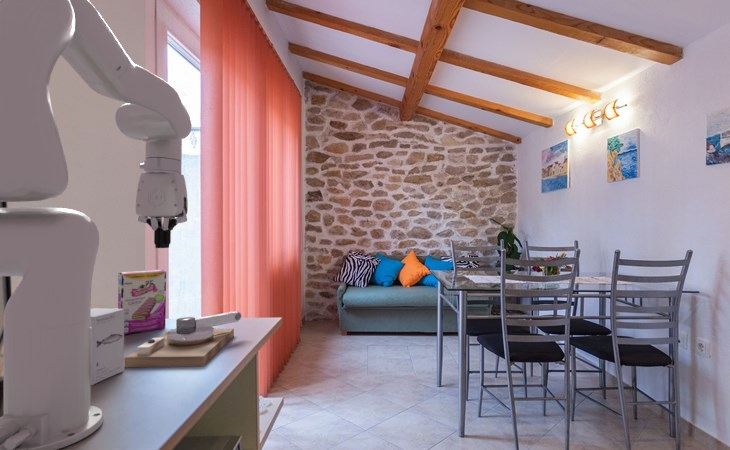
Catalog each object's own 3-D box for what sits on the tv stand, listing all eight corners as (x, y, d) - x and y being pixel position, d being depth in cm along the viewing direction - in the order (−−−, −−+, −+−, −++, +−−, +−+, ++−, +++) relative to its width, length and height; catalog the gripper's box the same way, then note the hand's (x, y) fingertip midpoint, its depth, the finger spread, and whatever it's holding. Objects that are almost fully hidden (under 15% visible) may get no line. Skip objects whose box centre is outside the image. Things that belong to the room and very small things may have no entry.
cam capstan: (178, 348, 86) (178, 325, 86) (160, 339, 93) (160, 318, 93) (251, 332, 100) (251, 312, 100) (230, 325, 106) (230, 306, 106)
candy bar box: (121, 336, 104) (121, 273, 104) (117, 332, 108) (117, 272, 108) (166, 328, 112) (166, 270, 112) (161, 325, 115) (161, 269, 115)
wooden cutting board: (203, 365, 82) (203, 345, 82) (124, 367, 81) (124, 346, 81) (233, 336, 104) (233, 319, 104) (171, 336, 103) (171, 320, 103)
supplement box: (93, 386, 72) (93, 316, 72) (59, 383, 73) (59, 314, 73) (125, 371, 79) (125, 308, 79) (94, 368, 80) (94, 306, 80)
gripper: (121, 165, 88) (119, 248, 87) (189, 165, 88) (188, 248, 87) (139, 171, 95) (138, 247, 95) (202, 171, 96) (201, 247, 95)
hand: (162, 247), depth 91 cm, fingers closed
